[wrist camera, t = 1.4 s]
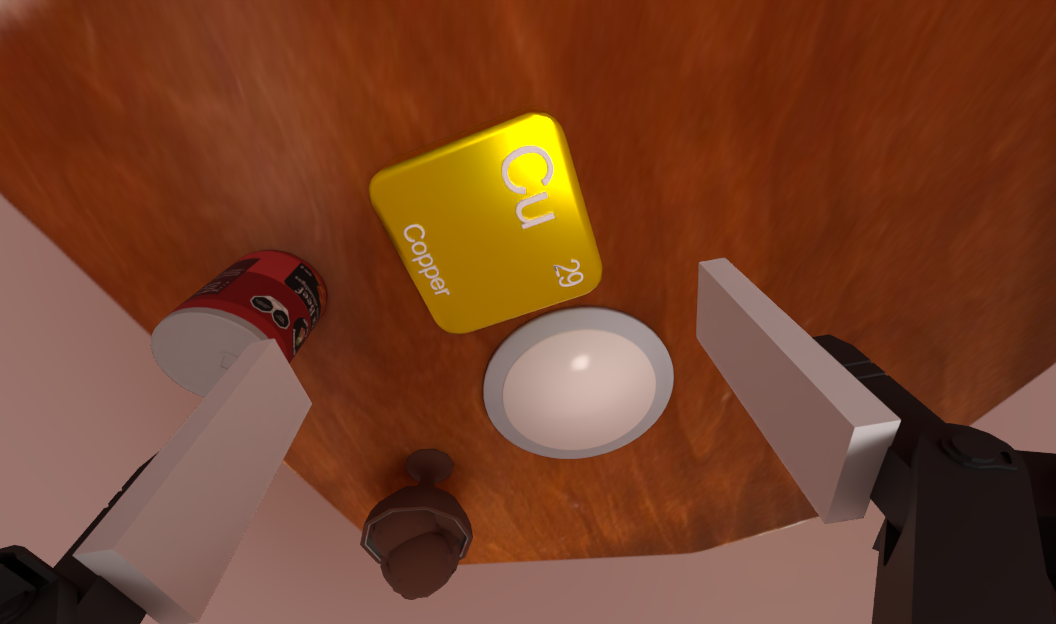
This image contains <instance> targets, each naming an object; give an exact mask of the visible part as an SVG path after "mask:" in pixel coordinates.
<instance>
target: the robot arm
mask: <svg viewBox="0 0 1056 624" xmlns="http://www.w3.org/2000/svg"><path fill="white" fill-rule="evenodd" d="M696 338H697V339H698V341H699V342H700V344H701V345H702V346H703V348H704V349H705V351H706V352H707V354H708V355H709V357H710V358H711V359H712V361H713V362H714V364H715V365H716V367H717V368H718V370H719V371H720V373H721V374H722V375H723V377H724V378H725V380H726V381H727V383H728V384H729V386H730V387H731V389H732V390H733V391H734V393H735V394H736V396H737V397H738V399H739V400H740V402H741V403H742V404H743V406H744V407H745V409H746V410H747V412H748V413H749V415H750V416H751V418H752V419H753V420H754V422H755V423H756V425H757V426H758V428H759V429H760V431H761V432H762V434H763V435H764V436H765V438H766V439H767V441H768V442H769V444H770V445H771V447H772V448H773V449H774V451H775V452H776V454H777V455H778V457H779V458H780V460H781V461H782V463H783V464H784V465H785V467H786V468H787V470H788V471H789V473H790V474H791V476H792V477H793V479H794V480H795V481H796V483H797V484H798V486H799V487H800V489H801V490H802V492H803V493H804V494H805V496H806V497H807V499H808V500H809V502H810V503H811V505H812V506H813V508H814V509H815V510H816V512H817V513H818V515H819V516H820V518H821V519H822V521H823V522H824V523H825V524H829V523H835V522H841V521H848V520H854V519H861V518H864V516H865V513H866V510H867V508H868V505H869V502H870V500H872V501H873V502H874V503H875V505H876V506H877V507H878V508H879V509H880V511H881V512H882V513H883V514H884V515H885V520H884V522H883V524H882V527H881V529H880V532H879V534H878V536H877V538H876V541H875V543H874V546H873V548H872V549H875V550H877V551H879V557H878V567H877V578H876V587H875V597H874V608H873V617H872V624H1056V454H1053V453H1042V452H1030V451H1019V450H1014V449H1013V448H1012V447H1011V446H1010V445H1008V444H1007V443H1005V442H1004V441H1002V440H1000V439H998V438H996V437H995V436H993V435H991V434H989V433H987V432H984V431H981V430H978V429H975V428H972V427H970V426H964V425H958V424H951V423H945V422H944V421H943V420H941V419H940V418H939V417H938V416H937V415H936V414H934V413H933V412H932V411H931V410H930V409H928V408H927V407H926V406H925V405H924V404H922V403H921V402H920V401H919V400H918V399H916V398H915V397H914V396H913V395H912V394H910V393H909V392H908V391H907V390H906V389H904V388H903V387H902V386H901V385H900V384H898V383H897V382H896V381H895V380H894V379H892V378H891V377H890V376H889V375H888V376H886V375H885V372H884V371H883V370H882V369H880V368H879V367H878V366H877V365H876V364H874V363H871V362H870V359H868V358H867V357H866V356H865V355H864V354H862V353H861V352H860V351H859V350H858V349H856V348H855V347H854V346H853V345H851V344H849V343H846V342H844V341H842V340H840V339H838V338H836V337H834V336H831V335H823V336H817V337H810V336H809V335H808V334H807V333H806V332H805V331H804V330H803V329H802V328H801V327H800V326H799V325H797V324H796V323H795V322H794V321H793V320H792V319H791V318H790V317H789V316H788V315H787V314H785V313H784V312H783V311H782V310H781V309H780V308H779V307H778V306H777V305H776V304H775V303H773V302H772V301H771V300H770V299H769V298H768V297H767V296H766V295H765V294H764V293H763V292H762V291H760V290H759V289H758V288H757V287H756V286H755V285H754V284H753V283H752V282H751V281H750V280H748V279H747V278H746V277H745V276H744V275H743V274H742V273H741V272H740V271H739V270H738V269H737V268H735V267H734V266H733V265H732V264H731V263H730V262H729V261H728V260H727V259H726V258H720V259H715V260H709V261H704V262H699V277H698V304H697V330H696ZM311 405H312V403H311V401H310V399H309V397H308V396H307V394H306V392H305V390H304V389H303V387H302V385H301V384H300V382H299V380H298V378H297V377H296V375H295V373H294V371H293V370H292V368H291V366H290V365H289V363H288V361H287V359H286V358H285V356H284V354H283V352H282V351H281V349H280V347H279V346H278V344H277V342H276V340H275V339H269V340H263V341H257V342H252V343H250V344H249V345H248V346H247V348H246V349H245V350H244V351H243V352H242V354H241V355H240V356H239V357H238V358H237V359H236V361H235V362H234V363H233V364H232V365H231V367H230V368H229V369H228V370H227V371H226V373H225V374H224V375H223V376H222V377H221V379H220V380H219V381H218V382H217V383H216V385H215V386H214V387H213V388H212V389H211V390H210V392H209V393H208V394H207V395H206V396H205V398H204V399H203V400H202V401H201V402H200V404H199V405H198V406H197V407H196V408H195V410H194V411H193V412H192V413H191V414H190V416H189V417H188V418H187V419H186V420H185V422H184V423H183V424H182V425H181V426H180V427H179V429H178V430H177V431H176V432H175V433H174V435H173V436H172V437H171V438H170V439H169V441H168V442H167V443H166V444H165V445H164V447H163V448H162V449H161V450H160V451H159V452H158V453H157V454H155V455H154V456H153V457H152V458H150V459H149V460H148V461H147V462H146V463H144V464H143V465H142V466H141V467H139V469H137V471H136V472H135V473H134V474H133V475H132V476H131V478H130V479H129V480H128V481H127V482H126V483H125V485H124V486H123V487H122V491H119V492H118V493H117V494H116V495H115V496H114V498H113V499H112V500H111V501H110V502H109V503H108V505H109V506H108V507H107V508H104V509H103V510H102V511H101V513H100V514H99V515H98V516H97V517H96V519H95V520H94V521H93V522H92V523H91V524H90V526H89V527H88V528H87V529H86V530H85V531H84V533H83V534H82V535H81V536H80V537H79V538H78V540H77V541H76V542H75V543H74V544H73V546H72V547H71V548H70V549H69V550H68V551H67V553H66V554H65V555H64V556H63V557H62V558H61V560H60V561H59V562H58V563H57V564H56V565H55V566H54V568H52V567H51V566H49V565H48V564H46V563H45V562H44V561H42V560H41V559H40V558H38V557H37V556H36V555H34V554H33V553H32V552H30V551H29V550H28V549H26V548H25V547H22V546H17V545H13V546H9V547H5V548H2V549H0V624H140V623H141V621H142V620H143V618H144V617H145V615H146V613H147V614H148V615H149V616H150V617H152V618H153V619H154V620H156V621H157V622H158V623H160V624H188V623H194V622H199V620H200V618H201V616H202V614H203V612H204V610H205V609H206V607H207V605H208V603H209V601H210V599H211V596H212V595H213V593H214V591H215V589H216V588H217V586H218V584H219V582H220V580H221V578H222V576H223V574H224V572H225V570H226V568H227V566H228V564H229V562H230V561H231V559H232V557H233V555H234V553H235V551H236V549H237V547H238V545H239V543H240V541H241V540H242V538H243V536H244V533H245V532H246V530H247V528H248V526H249V524H250V522H251V520H252V518H253V516H254V514H255V513H256V511H257V509H258V507H259V505H260V503H261V501H262V499H263V497H264V495H265V493H266V491H267V490H268V488H269V486H270V484H271V482H272V480H273V478H274V476H275V474H276V472H277V470H278V468H279V467H280V465H281V463H282V461H283V459H284V457H285V455H286V453H287V451H288V449H289V447H290V445H291V444H292V442H293V440H294V438H295V436H296V434H297V432H298V430H299V428H300V426H301V424H302V422H303V420H304V419H305V417H306V415H307V413H308V411H309V409H310V407H311Z"/></svg>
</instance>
